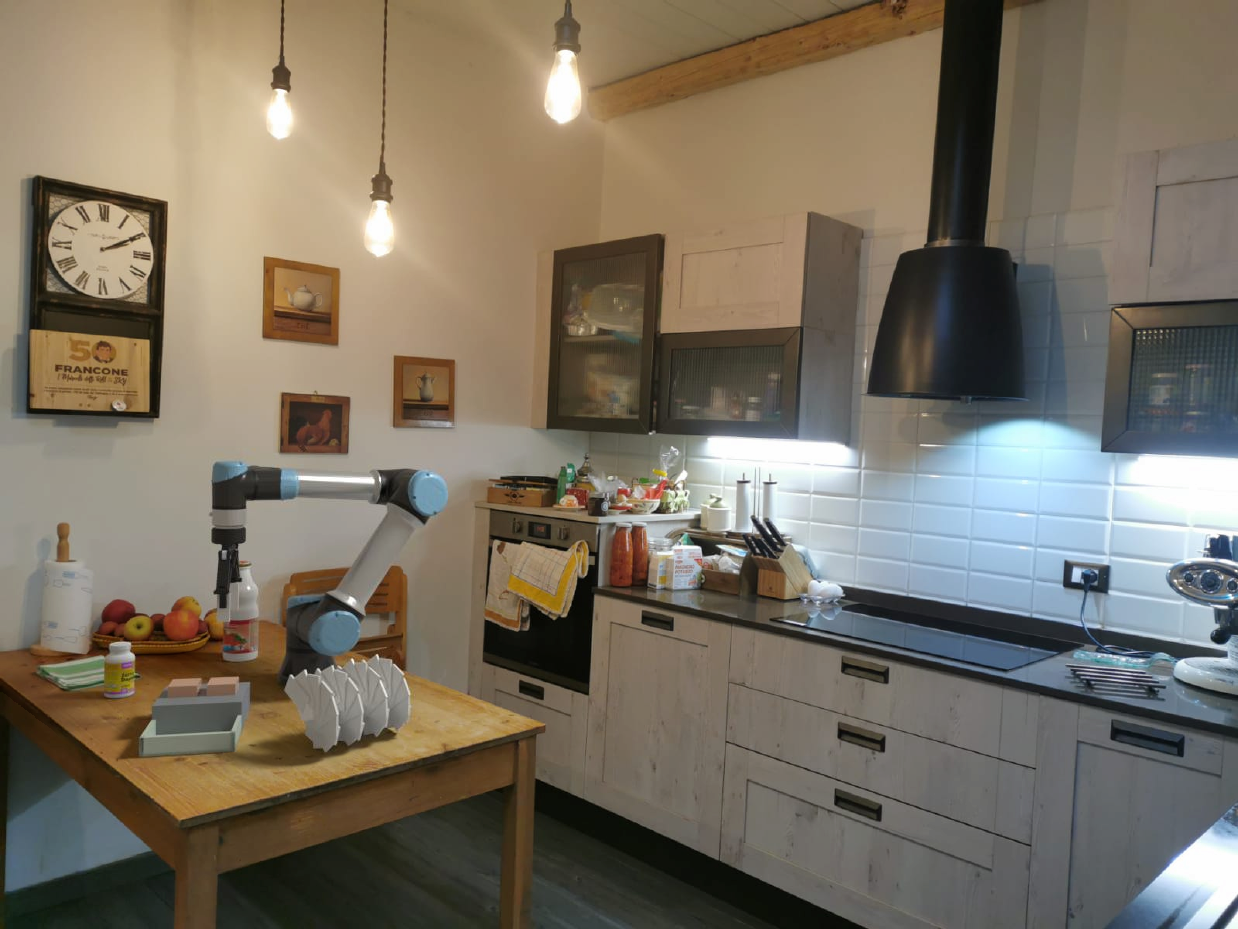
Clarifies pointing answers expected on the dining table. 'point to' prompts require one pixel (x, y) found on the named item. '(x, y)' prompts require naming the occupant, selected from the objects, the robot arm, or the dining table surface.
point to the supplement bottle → (119, 671)
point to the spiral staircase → (350, 701)
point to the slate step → (200, 711)
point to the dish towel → (76, 673)
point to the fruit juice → (243, 621)
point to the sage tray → (188, 741)
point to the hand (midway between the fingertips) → (227, 615)
